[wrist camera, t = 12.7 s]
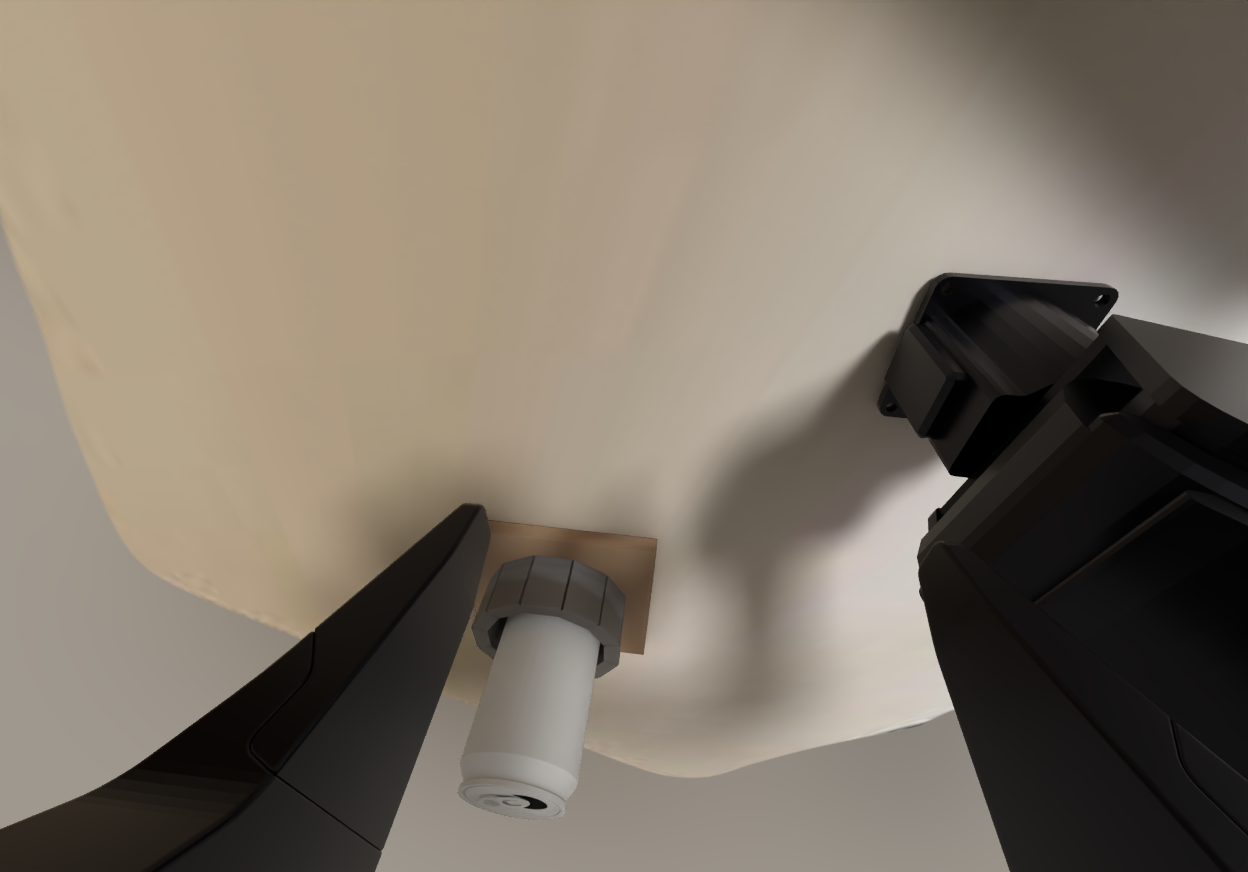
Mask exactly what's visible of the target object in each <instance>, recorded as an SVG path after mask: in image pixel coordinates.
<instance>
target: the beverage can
mask: <svg viewBox="0 0 1248 872" xmlns="http://www.w3.org/2000/svg"><path fill="white" fill-rule="evenodd" d="M599 646H600V641H599V640H598V639H597V638H596V637H595V636H594V635H593V634H592V633H591V632H590V631H589V630H588V629H585V628H583V627H581V626H578V625H576V624H574V623H571V622H569V621H566V620H564V619H562V618H559V617H554V616H545V615H537V614H529V613H523V614H518V615H513V616H508V618H507V621H506V624H505V627H504V630H503V633H502V636H501V639H500V642H499V645H498V648H497V651H496V654H495V657H494V660H493V664H492V667H491V670H490V673H489V676H488V679H487V682H486V685H485V688H484V691H483V694H482V697H481V700H480V703H479V706H478V709H477V712H476V715H475V718H474V721H473V724H472V727H471V730H470V733H469V736H468V739H467V742H466V745H465V748H464V751H463V754H462V757H461V760H460V767H461V772H462V777H463V782H462V783H461V784H460V786H459V790H458V794H459V796H460V797H461V798H462V799H463V800H465V801H466V802H468V803H470V804H472V805H474V806H476V807H478V808H481V809H484V810H487V811H490V812H493V813H497V814H501V815H505V816H509V817H515V818H522V819H531V820H551V819H557V818H560V817H562V816H563V815H565V812H566V803H565V802H566V800H567V799H568V797H569V796H570V795H571V794H572V793H573V791H574V790H575V789H576V787H577V783H578V776H579V770H580V765H581V758H582V752H583V746H584V740H585V734H586V727H587V721H588V715H589V709H590V702H591V696H592V690H593V684H594V678H595V671H596V665H597V659H598V653H599Z"/></svg>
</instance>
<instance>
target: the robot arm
mask: <svg viewBox="0 0 1248 872" xmlns="http://www.w3.org/2000/svg"><path fill="white" fill-rule="evenodd" d="M947 283H951V287H950V288H949V289H948V290H946V291H944V292H941V289H942V287H943V286H944V285H946V284H947ZM1101 295H1103V296H1102V298H1101V299H1100V300H1098V301H1096V302H1094V300H1095V299H1096V298H1097V297H1099V296H1101ZM1117 299H1118V291H1117V290H1116V289H1115V288H1113V287H1111V286H1109V285H1106V284H1101V283H1087V282H1073V281H1059V280H1045V279H1031V278H1017V277H1003V276H989V275H975V274H961V273H944V274H942V275H939V276H938V277H937V278H935V279H934V280H933V282H932V283H931V285H930V287H929V289H928V291H927V294H926V296H925V298H924V300H923V302H922V305H921V307H920V309H919V311H918V313H917V316H916V318H915V320H914V322H913V324H912V325H910V326H909V327H908V328H907V329H906V331H905V333H904V335H903V337H902V340H901V342H900V344H899V346H898V349H897V351H896V353H895V355H894V358H893V360H892V362H891V364H890V367H889V369H888V371H887V373H886V376H885V381H886V384H885V387H884V389H883V391H882V393H881V395H880V398H879V400H878V403H877V406H878V409H879V411H880V412H881V414H883V415H884V416H889V417H900V418H908V420H909V422H910V423H911V425H912V427H913V428H914V430H915V432H916V433H917V435H918V436H919V437H920V438H922V439H928V440H929V441H930V443H931V444H932V446H933V448H934V449H935V451H936V453H937V454H938V456H939V457H940V459H941V461H942V462H943V464H944V466H945V467H946V469H947V470H948V472H949V474H950V475H952V476H958V477H967V478H968V479H967V480H966V482H965V483H964V484H963V485H962V486H961V487H960V488H959V489H958V490H957V491H956V493H955V494H954V495H953V496H952V497H951V498H950V499H949V500H948V501H947V502H946V504H945V505H944V506H943V507H942V508H937V509H936V510H935V511H934V512H933V513H932V514H931V516H930V517H929V518H928V531H929V532H928V533H927V534H926V535H925V536H924V537H923V538H922V539H921V543H920V547H919V551H918V555H917V559H918V564H919V571H918V577H919V582H920V586H921V587H920V590H919V593H920V596H921V598H922V600H923V602H924V604H925V609H926V613H927V618H928V622H929V627H930V631H931V636H932V641H933V644H934V648H935V652H936V656H937V659H938V662H939V665H940V668H941V671H942V674H943V677H944V680H945V683H946V686H947V689H948V692H949V694H950V697H951V700H952V703H953V706H954V709H955V712H956V715H957V718H958V721H959V724H960V727H961V729H962V732H963V736H964V738H965V741H966V744H967V747H968V750H969V753H970V756H971V759H972V762H973V765H974V768H975V771H976V774H977V777H978V780H979V782H980V785H981V788H982V791H983V794H984V797H985V800H986V803H987V806H988V809H989V811H990V814H991V818H992V821H993V823H994V826H995V829H996V832H997V835H998V838H999V841H1000V844H1001V847H1002V850H1003V853H1004V856H1005V858H1006V862H1007V864H1008V867H1009V870H1010V872H1248V344H1245V343H1240V342H1236V341H1231V340H1227V339H1222V338H1218V337H1213V336H1209V335H1205V334H1200V333H1196V332H1191V331H1187V330H1182V329H1178V328H1174V327H1169V326H1165V325H1160V324H1156V323H1151V322H1147V321H1143V320H1138V319H1134V318H1129V317H1125V316H1120V315H1115V314H1112V315H1111V316H1110V317H1109V318H1108V320H1107V321H1106V322H1105V323H1104V324H1103V325H1102V326H1101V327H1100V328H1099V329H1098V331H1097V330H1096V329H1097V328H1098V326H1099V325H1100V323H1101V322H1102V321H1103V319H1104V318H1105V316H1106V315H1107V314H1108V312H1109V311H1110V310H1111V308H1112V307H1113V305H1114V304H1115V303H1116V301H1117ZM1093 302H1094V303H1093ZM890 403H894V405H892V406H891V407H886V406H887V405H888V404H890ZM490 538H491V530H490V525H489V522H488V518H487V514H486V510H485V508H484V506H483V505H481V504H471V503H465V504H462V505H460V506H459V507H458V508H457V509H456V510H454V511H453V512H452V513H451V514H450V515H449V516H447V517H446V518H445V519H444V520H443V521H441V522H440V523H439V524H438V525H437V526H436V527H434V528H433V529H432V530H431V531H430V532H428V533H427V534H426V535H425V536H424V537H423V538H421V539H420V540H419V541H418V542H417V543H416V544H414V545H413V546H412V547H411V548H410V549H408V550H407V551H406V552H405V553H404V554H403V555H401V556H400V557H399V558H398V559H397V560H395V561H394V562H393V563H392V564H391V565H390V566H388V567H387V568H386V569H385V570H384V571H382V572H381V573H380V574H379V575H378V576H377V577H375V578H374V579H373V580H372V581H371V582H369V583H368V584H367V585H366V586H365V587H364V588H362V589H361V590H360V591H359V592H358V593H356V594H355V595H354V596H353V597H352V598H351V599H349V600H348V601H347V602H346V603H345V604H344V605H342V606H341V607H340V608H339V609H338V610H336V611H335V612H334V613H333V614H332V615H331V616H329V617H328V618H327V619H326V620H325V621H323V622H322V623H321V624H320V625H319V626H318V627H316V629H315V632H310V633H309V634H308V635H307V636H306V637H304V638H303V639H302V640H301V641H300V642H298V643H297V644H296V645H295V646H294V647H293V648H291V649H290V650H289V651H288V652H286V653H285V654H284V655H283V656H282V657H280V658H279V659H278V660H277V661H275V662H274V663H273V664H272V665H270V666H269V667H268V668H267V669H266V670H264V671H263V672H262V673H260V674H259V675H258V676H257V677H255V678H254V679H253V680H251V681H250V682H249V683H247V684H246V685H245V686H243V687H242V688H241V689H240V690H238V691H237V692H235V693H234V694H233V695H232V696H230V697H229V698H228V699H226V700H225V701H223V702H222V703H221V704H219V705H218V706H217V707H215V708H214V709H213V710H211V711H210V712H209V713H207V714H206V715H204V716H203V717H202V718H200V719H199V720H198V721H196V722H195V723H193V724H192V725H191V726H189V727H188V728H187V729H185V730H184V731H183V732H181V733H180V734H179V735H177V736H176V737H175V738H173V739H172V740H170V741H169V742H168V743H166V744H165V745H164V746H162V747H161V748H160V749H158V750H157V751H155V752H154V753H153V754H151V755H150V756H149V757H147V758H146V759H144V760H143V761H141V762H140V763H139V764H137V765H136V766H134V767H133V768H131V769H130V770H128V771H127V772H125V773H123V774H122V775H120V776H118V777H117V778H115V779H113V780H111V781H110V782H108V783H106V784H104V785H102V786H101V787H99V788H97V789H95V790H93V791H91V792H89V793H87V794H84V795H82V796H80V797H78V798H75V799H73V800H71V801H68V802H66V803H63V804H61V805H58V806H56V807H54V808H51V809H49V810H46V811H44V812H41V813H39V814H36V815H34V816H31V817H29V818H27V819H24V820H22V821H19V822H17V823H14V824H12V825H9V826H7V827H5V828H2V829H0V872H375V870H376V867H377V864H378V862H379V859H380V857H381V854H382V852H381V850H382V849H383V848H384V845H385V843H386V840H387V837H388V835H389V832H390V829H391V827H392V824H393V821H394V819H395V816H396V813H397V811H398V808H399V805H400V803H401V800H402V797H403V795H404V792H405V789H406V787H407V784H408V781H409V779H410V776H411V773H412V771H413V768H414V765H415V763H416V760H417V757H418V755H419V752H420V749H421V747H422V744H423V741H424V738H425V736H426V733H427V730H428V728H429V725H430V722H431V720H432V717H433V714H434V712H435V709H436V706H437V704H438V701H439V698H440V696H441V693H442V690H443V688H444V685H445V682H446V680H447V677H448V674H449V672H450V669H451V666H452V664H453V661H454V658H455V656H456V653H457V650H458V648H459V645H460V642H461V640H462V637H463V634H464V632H465V629H466V626H467V624H468V621H469V618H470V615H471V612H472V610H473V606H474V603H475V599H476V595H477V591H478V587H479V583H480V579H481V575H482V571H483V567H484V563H485V559H486V555H487V551H488V547H489V543H490Z"/></svg>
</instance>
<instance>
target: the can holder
mask: <svg viewBox="0 0 1248 872" xmlns="http://www.w3.org/2000/svg"><path fill="white" fill-rule="evenodd" d="M488 522H489V525H490V530H491V538H490V543H489V547H488V551H487V555H486V559H485V563H484V567H483V571H482V575H481V579H480V583H479V587H478V591H477V595H476V599H475V603H474V607H475V610H476V613H477V614H476V617H475V620H474V622H473V625H472V631H473V634H474V637H475V640H476V643H477V646H479V648H480V649H481V650H482V651H484V652H485V653H486V654H487V655H489V656H490V657H491V658H492V659H494V657H495V654H496V651H497V648H498V645H499V642H500V639H501V636H502V633H503V630H504V627H505V624H506V621H507V618H508V616H513V615H518V614H523V613H529V614H537V615H545V616H554V617H559V618H562V619H564V620H566V621H569V622H571V623H574V624H576V625H578V626H581V627H583V628H585V629H588V630H589V631H590V632H591V633H592V634H593V635H594V636H595V637H596V638H597V639H598V640H599V641H600V646H599V653H598V659H597V665H596V671H595V678H598V677H601V676H603V675H604V674H606V673H607V672H609V671H610V670H612V669H613V668H615V667H616V666H618V664H619V657H620V652H625V653H633V654H641V655H644V647H645V639H646V631H647V623H648V615H649V607H650V599H651V591H652V582H653V574H654V566H655V558H656V549H657V539H650V538H641V537H632V536H623V535H614V534H605V533H596V532H587V531H578V530H569V529H560V528H551V527H542V526H533V525H524V524H515V523H506V522H497V521H488ZM595 678H594V679H595Z"/></svg>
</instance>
